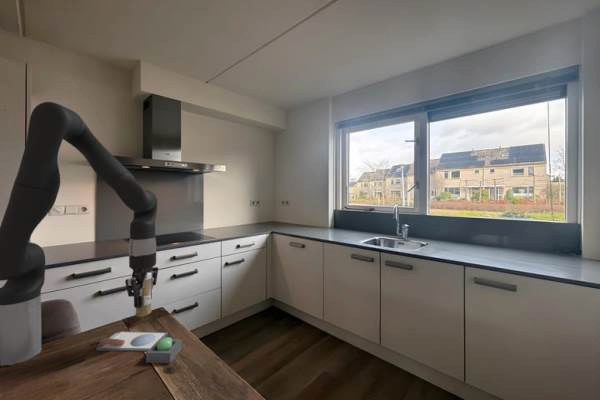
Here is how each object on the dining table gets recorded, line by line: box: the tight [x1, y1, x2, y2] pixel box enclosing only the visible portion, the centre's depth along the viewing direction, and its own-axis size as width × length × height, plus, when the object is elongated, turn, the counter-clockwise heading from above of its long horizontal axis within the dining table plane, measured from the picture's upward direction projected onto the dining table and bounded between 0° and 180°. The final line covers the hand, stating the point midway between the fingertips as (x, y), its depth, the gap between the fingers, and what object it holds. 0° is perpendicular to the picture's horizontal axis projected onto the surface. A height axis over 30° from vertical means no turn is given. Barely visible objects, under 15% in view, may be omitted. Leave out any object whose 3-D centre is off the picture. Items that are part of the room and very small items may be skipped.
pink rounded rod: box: [100, 337, 125, 346], centre depth 81 cm, size 7×2×2 cm, turn 90°
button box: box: [145, 338, 183, 364], centre depth 78 cm, size 7×7×3 cm
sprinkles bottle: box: [135, 272, 152, 317], centre depth 84 cm, size 5×5×13 cm
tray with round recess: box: [95, 330, 169, 353], centre depth 84 cm, size 17×10×1 cm, turn 89°
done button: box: [157, 336, 173, 351], centre depth 78 cm, size 4×4×3 cm
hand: (143, 303), depth 84 cm, fingers closed on sprinkles bottle, 4 cm apart
